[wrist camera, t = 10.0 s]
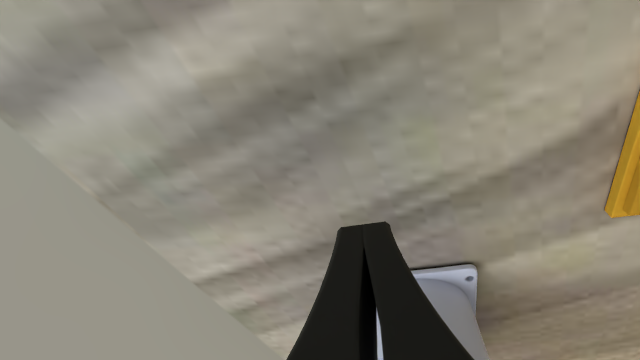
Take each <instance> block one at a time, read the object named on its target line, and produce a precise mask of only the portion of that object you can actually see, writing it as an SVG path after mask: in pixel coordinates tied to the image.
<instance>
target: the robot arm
mask: <svg viewBox="0 0 640 360" xmlns="http://www.w3.org/2000/svg"><path fill="white" fill-rule="evenodd" d="M477 275H478V272H477V269H476V267H475V266H474V265H472V264H466V265H458V266H449V267H440V268H431V269H422V270H414V271H410V269H409V267H408V266H407V264H406V262H405V260H404V258H403V256H402V254H401V252H400V250H399V248H398V246H397V244H396V242H395V239H394V237H393V234H392V232H391V228H390V224H388V223H387V222H378V223H371V224H363V225H356V226H348V227H341V228H340V229H339V230H338V232H337V238H336V242H335V246H334V250H333V253H332V257H331V260H330V263H329V266H328V269H327V272H326V274H325V277H324V280H323V283H322V285H321V288H320V291H319V293H318V296H317V298H316V300H315V303H314V305H313V307H312V309H311V312H310V314H309V316H308V318H307V321H306V323H305V325H304V327H303V329H302V331H301V333H300V335H299V337H298V339H297V341H296V343H295V345H294V347H293V349H292V350H291V352H290V354H289V356H288V358H287V360H490V359H489V356H488V353H487V350H486V347H485V344H484V341H483V338H482V336H481V333H480V330H479V327H478V324H477V321H476V297H477ZM468 276H469V277H468Z"/></svg>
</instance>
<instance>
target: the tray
mask: <svg viewBox="0 0 640 360" xmlns="http://www.w3.org/2000/svg"><path fill="white" fill-rule="evenodd" d="M605 211H606V212H607V213H608V215H609V216H610V217H611V218H614V217H622V216H633V215H640V91H639V95H638V98H637V102H636V105H635V108H634V112H633V115H632V119H631V122H630V125H629V129H628V132H627V136H626V139H625V142H624V146H623V149H622V153H621V156H620V159H619V163H618V166H617V170H616V173H615V176H614V180H613V183H612V187H611V190H610V193H609V197H608V200H607V204H606V207H605Z"/></svg>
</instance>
